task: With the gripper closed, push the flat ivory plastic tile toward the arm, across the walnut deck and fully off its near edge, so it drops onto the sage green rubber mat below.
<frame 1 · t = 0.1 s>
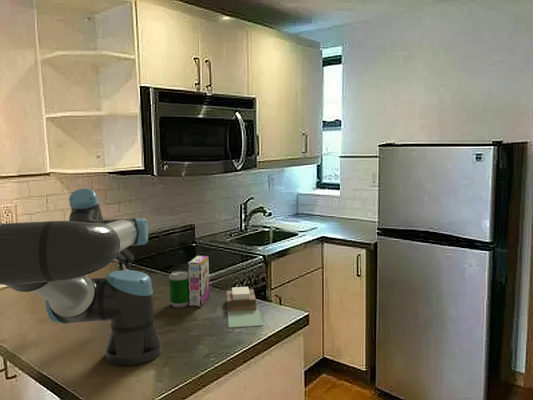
hand: (106, 275, 155), 15 cm above the table, tool tilted 35°, fingers open, 13 cm apart
candy bar box: (200, 302, 172), on the table
sage mat: (244, 318, 154), on the table
soda can: (180, 305, 169), on the table
walnut deck: (241, 305, 166), on the table
ivory tile: (240, 295, 165), point 4 cm above the table, touching walnut deck
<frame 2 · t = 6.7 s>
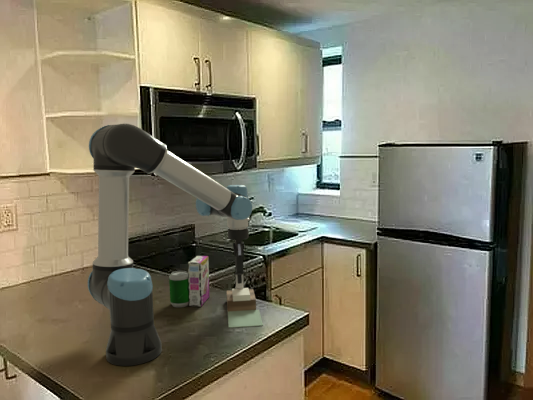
hand: (239, 291, 168), 5 cm above the table, tool pointing down, fingers closed
ivory tile: (241, 297, 164), point 4 cm above the table
everything else where it was.
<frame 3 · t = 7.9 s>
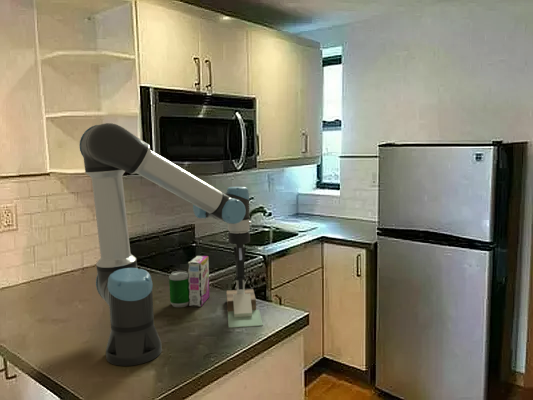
hand: (240, 297, 161), 5 cm above the table, tool pointing down, fingers closed
ivory tile: (242, 306, 158), point 3 cm above the table, tilted 35°, touching gripper
everything else where it was.
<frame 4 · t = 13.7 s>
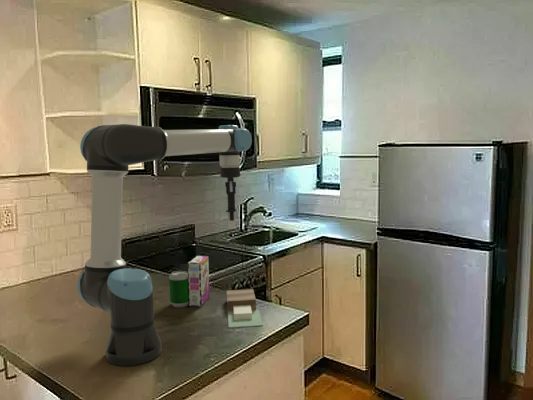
hand: (232, 228, 175), 26 cm above the table, tool pointing down, fingers closed
ivory tile: (242, 314, 156), resting on sage mat
everything else where it was.
at the end: ivory tile inside the target area (3.9 cm from its centre), resting on sage mat; ivory tile touching sage mat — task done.
